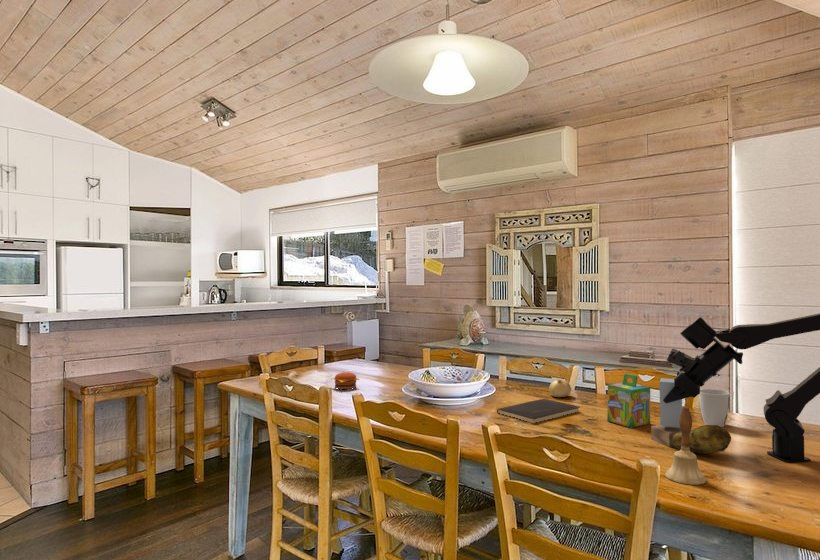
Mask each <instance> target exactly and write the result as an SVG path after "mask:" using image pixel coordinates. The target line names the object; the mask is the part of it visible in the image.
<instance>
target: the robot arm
mask: <svg viewBox="0 0 820 560" xmlns="http://www.w3.org/2000/svg"><path fill="white" fill-rule="evenodd" d="M817 331H820V312H819V313H815V314H810V315H805V316H799V317H795V318H790V319H784V320H781V321H776V322H771V323H753V324H751V323H749V324H748V323H747V324H736V325H734V326H732V327H731V328H730V329H724V330H721V329H720V330H715V329H714V328H713V327H712V326H711V325H710V324H708V323H707V322H706V320H705V319H704V317H702V316H700V317H698V318H697V319H696V320H695V321H693V322H692V323H690V324H688V326H687V327H685V328H684V329H683V330H682V331H681V332H679V333H680V335H681V336H682V337H683V338H684V339H685V340H686V341H687V342H688V343H689V344H690V345H691V346H693V347H694V348H695V349H696V350H697V349H699V348H700V349H702V350H704V349H706V348H708V349H706V350H705V351H704V352H702V353H701V354H700V355H696V356H695V357H692V356H690V355H688V354H686V353H685V352H682V351H680V350H678V349H676V348H672V349H671V351H670V352H669V354H668V356H667V357H666V361H667V362H668V363H671V364H674V365H676V366H679V367H680V368H679V369H678V371H676V372H677V373H676V376H675V377H674V378H673V379H674V385H675V386H674V387H673V388H672V390H671V391H670V392H669V393H668V395H667V396H666V397H665V398H664V400H663V401H664V402H665V403H670V402H673V401H677V400H681V399H682V400H685V399H688V398H693V399H694V398H696V397H697V396H699V394H700V390H701V388H702V387H703V386H704V385H705V383H706V382H708V381H709V380H710V379H712V377H715V376H717V375H718V373H719V372H720V371H721V370H722V369H723V368H725V367H726V366H728V364H730V362H732V361H733V360H734V361H735V362H737V363H738V364H740V365H742V364H743V356H744V353H743V352H742V351H741V352H740V351H739V352H738V351H737V350H736V349H738V350H748V349H750V348H754V347H756V346H759V345H762V344H764V343H766V342H769V341H772V340H775V339H779V338H784V337H785V338H786V337H791V336H795V335H801V334H805V333H811V332H817ZM713 342H714V343H713ZM712 343H713V344H712ZM723 343H727V344H726V345H725V344H723ZM711 344H712V345H711ZM729 344H730V345H729ZM710 345H711V346H710ZM708 346H710V347H708ZM734 348H736V349H734ZM819 395H820V366H819V367H818V368H817V369H815V370H814V371H813V372H812V373H811V374H809V375H808V376H807V377H805V379H803V380H802V381H801V382H799V384H797V385H796V386H795V387H794V388H793V389H791V390H789V391H787V392H784V393H782V392H781V391H780V390H779V389H778V390H776V391H775V392H774V394H772V396H771V397H769V398H766V399H765V404H764V405H763V414H764V419H765V420H766V422H767V424H769V425H770V426H771V427H773V428H772V435H771V438H772V439H771V442H772V443H771V446H772V447H771V448H772V450H769V451H766V454H768V455H770V456H772V457H774V458H776V459H778V460H780V461H783V462H786V463H795V462H797V463H798V462H800V463H801V462H811V461H812V460H811V458H810V457H808V456H806V455H805V435H804V434H805V429H804V426H803V425H802V422H801V421H800V420H799V419H798V417H799V416H800V415H801V413H802V411H803V410H804V409H805V407H806V405H808V403H809V402H811V401H812V400H813V399H814V398H816V397H817V396H819Z"/></svg>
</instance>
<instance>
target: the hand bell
mask: <svg viewBox="0 0 820 560" xmlns="http://www.w3.org/2000/svg"><path fill="white" fill-rule="evenodd" d="M679 424H680V429H681V433H682V442H681V450H680V449H679V450H677V451H675V452H674V454H673V461H672V464H671V466H670V467H669V469H667V470H666V471H665V472H664V473H665V474H664V476H665V477H666V478H667V479H669V480H670V481H673V482H675V483H679V484H683V485H684V484H685V485H691V486H695V485H697V486H699V485H704V484H706V483H707V478H706V476H705V475H704V474H703V473H702V471H701V470H700V468H699V465H698V458H697V455H696V453H694V452H690V448H689V447H690V440H689V436H690V432H691V430H693V429H692V428H693V418H692V413H691V411H690V407H689V406H682V411H681V414H680V418H679Z"/></svg>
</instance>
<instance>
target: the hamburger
mask: <svg viewBox="0 0 820 560" xmlns="http://www.w3.org/2000/svg"><path fill="white" fill-rule="evenodd" d="M331 380H332V381H333V380H334V389H335V388H338V389H352V388H355V387H356V388H357V381H360V378H359V377H358V376H357V375H356V374H355V373H353V372H351V371H343V372H339V373H337V374H335V376H334V377H333V378H331ZM356 388H355V389H356ZM352 390H353V389H352Z"/></svg>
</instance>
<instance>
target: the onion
mask: <svg viewBox="0 0 820 560" xmlns="http://www.w3.org/2000/svg"><path fill="white" fill-rule="evenodd" d="M571 387H572V386H571V384H570V383H569V382H568V381H566V380H564V379H559V378H556V379H555V380H554V381H553V380H552V381H551V383H550V384H549V389H548V390H549V393H550V395H551V396H553V397H555V398H566V397H568V396H569V395H570V394H571V391H572V388H571Z"/></svg>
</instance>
